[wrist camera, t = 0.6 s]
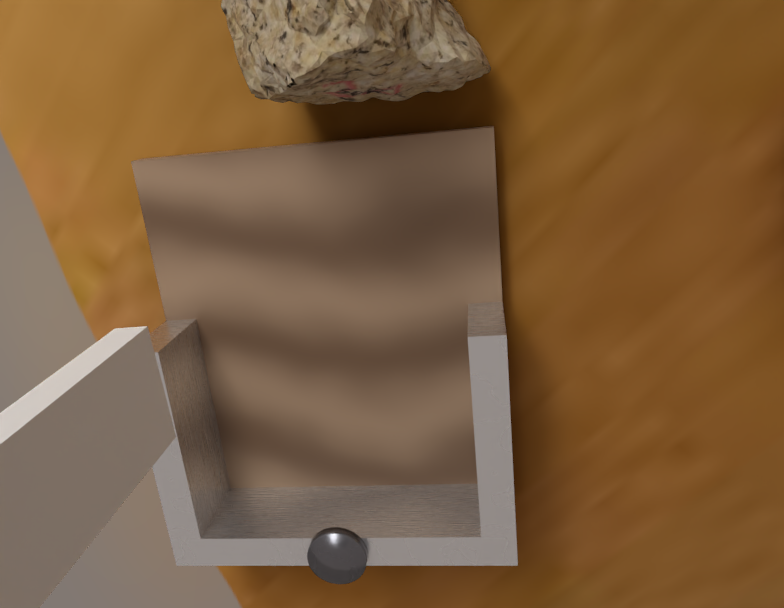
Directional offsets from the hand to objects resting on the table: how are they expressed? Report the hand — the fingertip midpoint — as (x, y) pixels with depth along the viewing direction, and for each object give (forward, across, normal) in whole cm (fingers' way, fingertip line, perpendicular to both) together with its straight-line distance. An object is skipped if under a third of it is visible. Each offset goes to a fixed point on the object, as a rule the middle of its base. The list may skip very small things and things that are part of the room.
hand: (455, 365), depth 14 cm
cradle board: (+22, -8, -8) cm, 25 cm away
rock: (+23, -4, +11) cm, 26 cm away
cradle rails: (+21, -8, -13) cm, 26 cm away
